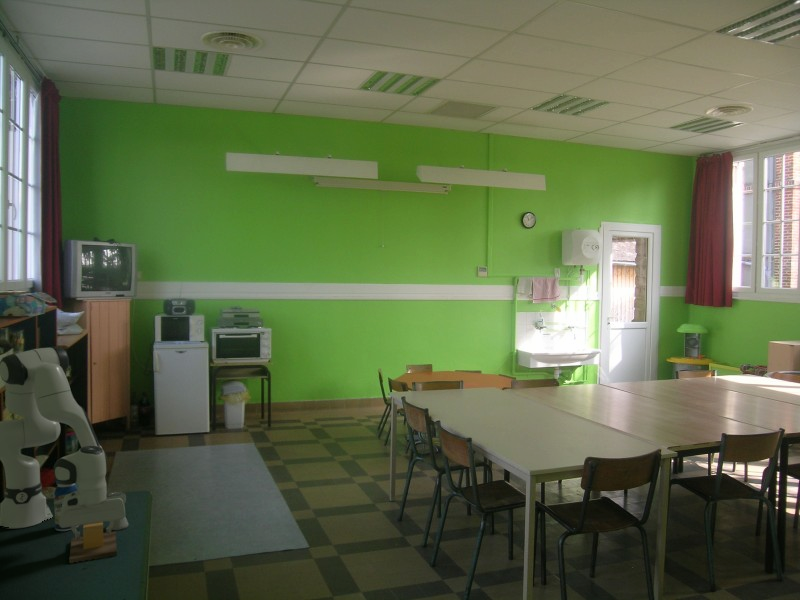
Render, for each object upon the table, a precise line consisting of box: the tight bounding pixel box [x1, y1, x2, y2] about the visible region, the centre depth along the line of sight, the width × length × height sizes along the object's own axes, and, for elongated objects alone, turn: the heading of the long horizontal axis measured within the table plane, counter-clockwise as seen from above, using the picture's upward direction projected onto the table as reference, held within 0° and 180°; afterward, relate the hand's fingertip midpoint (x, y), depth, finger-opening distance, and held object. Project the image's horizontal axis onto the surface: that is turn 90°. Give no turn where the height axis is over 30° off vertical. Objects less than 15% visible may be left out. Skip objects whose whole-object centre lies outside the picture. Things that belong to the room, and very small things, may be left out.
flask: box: [107, 516, 130, 531], centre depth 238 cm, size 7×7×10 cm
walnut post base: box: [68, 531, 118, 564], centre depth 219 cm, size 18×14×6 cm
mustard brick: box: [82, 522, 104, 549], centre depth 219 cm, size 6×6×6 cm
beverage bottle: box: [53, 479, 79, 532], centre depth 238 cm, size 8×8×20 cm
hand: (93, 535), depth 219 cm, fingers open, 8 cm apart
